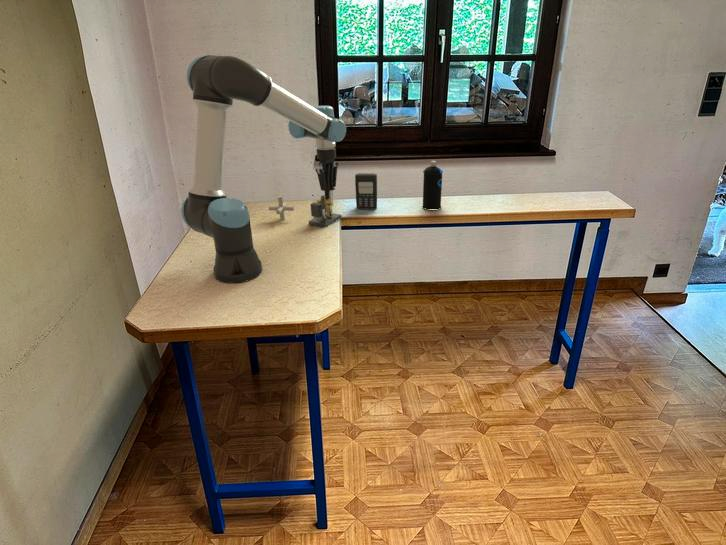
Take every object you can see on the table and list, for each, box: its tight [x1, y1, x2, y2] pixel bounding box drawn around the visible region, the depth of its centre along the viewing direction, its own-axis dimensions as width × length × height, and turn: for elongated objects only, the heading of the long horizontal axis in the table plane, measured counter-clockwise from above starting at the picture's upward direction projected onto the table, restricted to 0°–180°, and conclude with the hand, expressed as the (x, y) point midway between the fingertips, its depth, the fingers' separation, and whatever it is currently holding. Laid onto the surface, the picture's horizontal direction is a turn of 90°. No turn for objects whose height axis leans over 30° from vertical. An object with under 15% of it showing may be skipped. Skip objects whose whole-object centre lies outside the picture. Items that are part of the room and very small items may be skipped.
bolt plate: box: [308, 202, 342, 228], centre depth 192 cm, size 12×8×8 cm, turn 150°
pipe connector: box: [268, 195, 295, 222], centre depth 194 cm, size 10×10×10 cm
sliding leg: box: [316, 194, 333, 218], centre depth 192 cm, size 4×6×8 cm, turn 60°
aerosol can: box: [421, 160, 444, 210], centre depth 201 cm, size 8×8×20 cm
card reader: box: [354, 173, 378, 210], centre depth 204 cm, size 9×4×15 cm, turn 83°
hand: (329, 205), depth 196 cm, fingers closed
